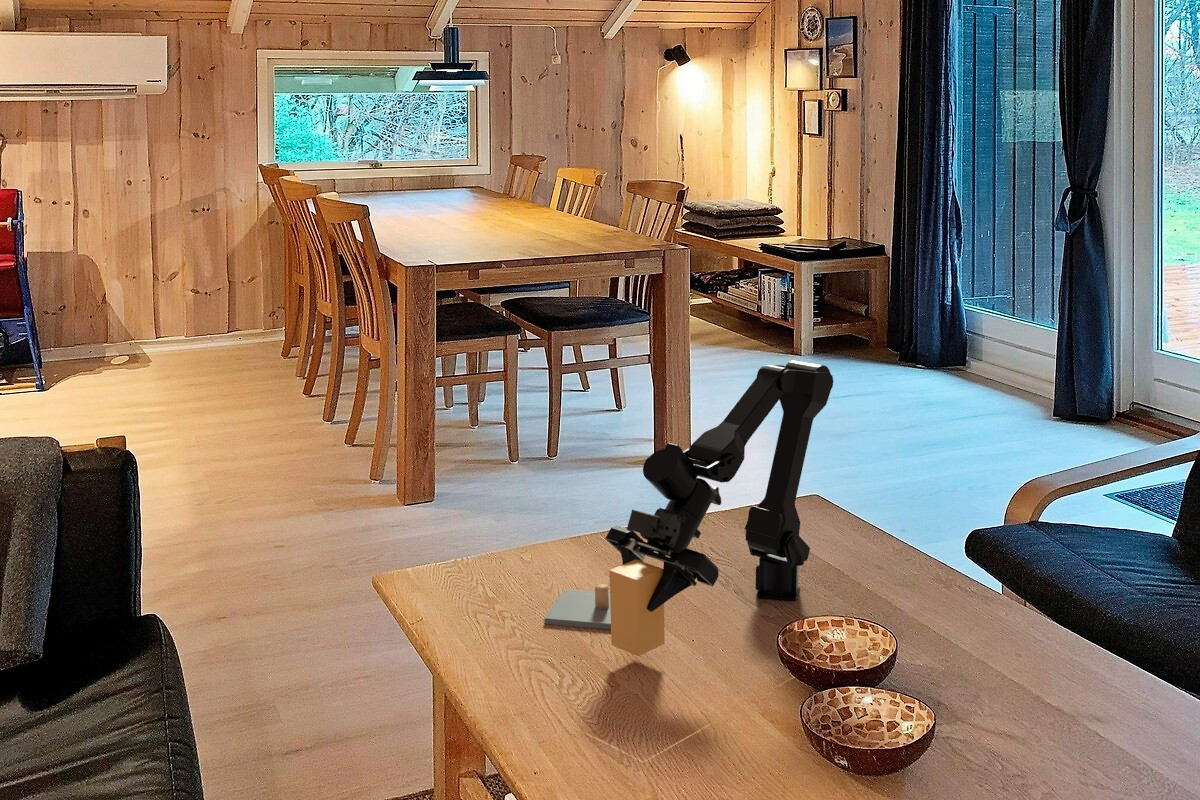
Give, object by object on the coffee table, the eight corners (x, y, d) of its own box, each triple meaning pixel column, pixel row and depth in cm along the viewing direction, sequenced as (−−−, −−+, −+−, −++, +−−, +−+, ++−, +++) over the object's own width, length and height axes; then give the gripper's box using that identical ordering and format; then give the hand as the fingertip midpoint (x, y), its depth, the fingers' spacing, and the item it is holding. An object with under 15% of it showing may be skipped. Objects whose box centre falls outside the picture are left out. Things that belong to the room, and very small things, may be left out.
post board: (657, 601, 214) (657, 576, 213) (642, 632, 203) (641, 605, 201) (564, 594, 218) (564, 569, 217) (544, 623, 207) (543, 597, 205)
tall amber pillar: (637, 632, 196) (635, 559, 193) (664, 643, 193) (663, 568, 190) (611, 645, 193) (609, 570, 190) (638, 656, 189) (637, 580, 186)
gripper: (612, 475, 196) (561, 563, 192) (705, 502, 183) (653, 598, 179) (648, 510, 204) (600, 596, 199) (740, 539, 191) (691, 632, 186)
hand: (634, 604), depth 191 cm, fingers closed on tall amber pillar, 6 cm apart
